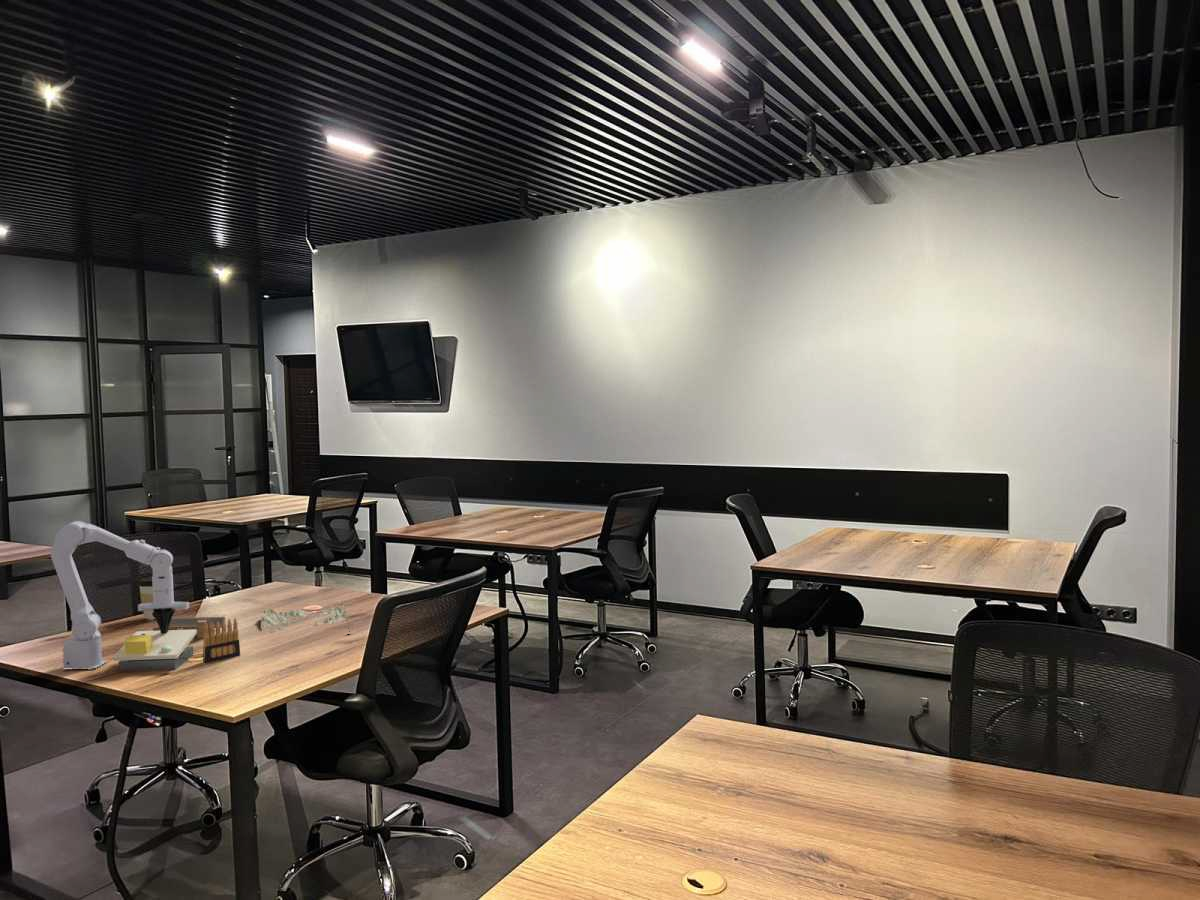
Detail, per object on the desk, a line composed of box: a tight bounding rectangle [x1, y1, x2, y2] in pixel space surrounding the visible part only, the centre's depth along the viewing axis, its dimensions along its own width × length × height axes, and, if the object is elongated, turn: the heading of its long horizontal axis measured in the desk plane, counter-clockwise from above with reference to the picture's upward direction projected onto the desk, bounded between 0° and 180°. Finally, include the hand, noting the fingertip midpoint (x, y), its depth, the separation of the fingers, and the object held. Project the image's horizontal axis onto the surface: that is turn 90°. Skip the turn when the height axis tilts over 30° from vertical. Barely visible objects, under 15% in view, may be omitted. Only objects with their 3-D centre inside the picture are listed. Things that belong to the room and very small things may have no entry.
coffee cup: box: [137, 576, 155, 619], centre depth 310 cm, size 10×10×15 cm
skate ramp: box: [152, 613, 226, 639], centre depth 283 cm, size 29×35×8 cm
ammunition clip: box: [202, 617, 241, 664], centre depth 257 cm, size 11×2×12 cm, turn 136°
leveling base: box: [117, 646, 194, 672], centre depth 252 cm, size 16×14×5 cm
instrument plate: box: [112, 629, 197, 662], centre depth 251 cm, size 18×16×5 cm
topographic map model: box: [260, 602, 348, 633], centre depth 295 cm, size 36×29×5 cm
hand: (164, 632), depth 258 cm, fingers closed, pressing on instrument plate
